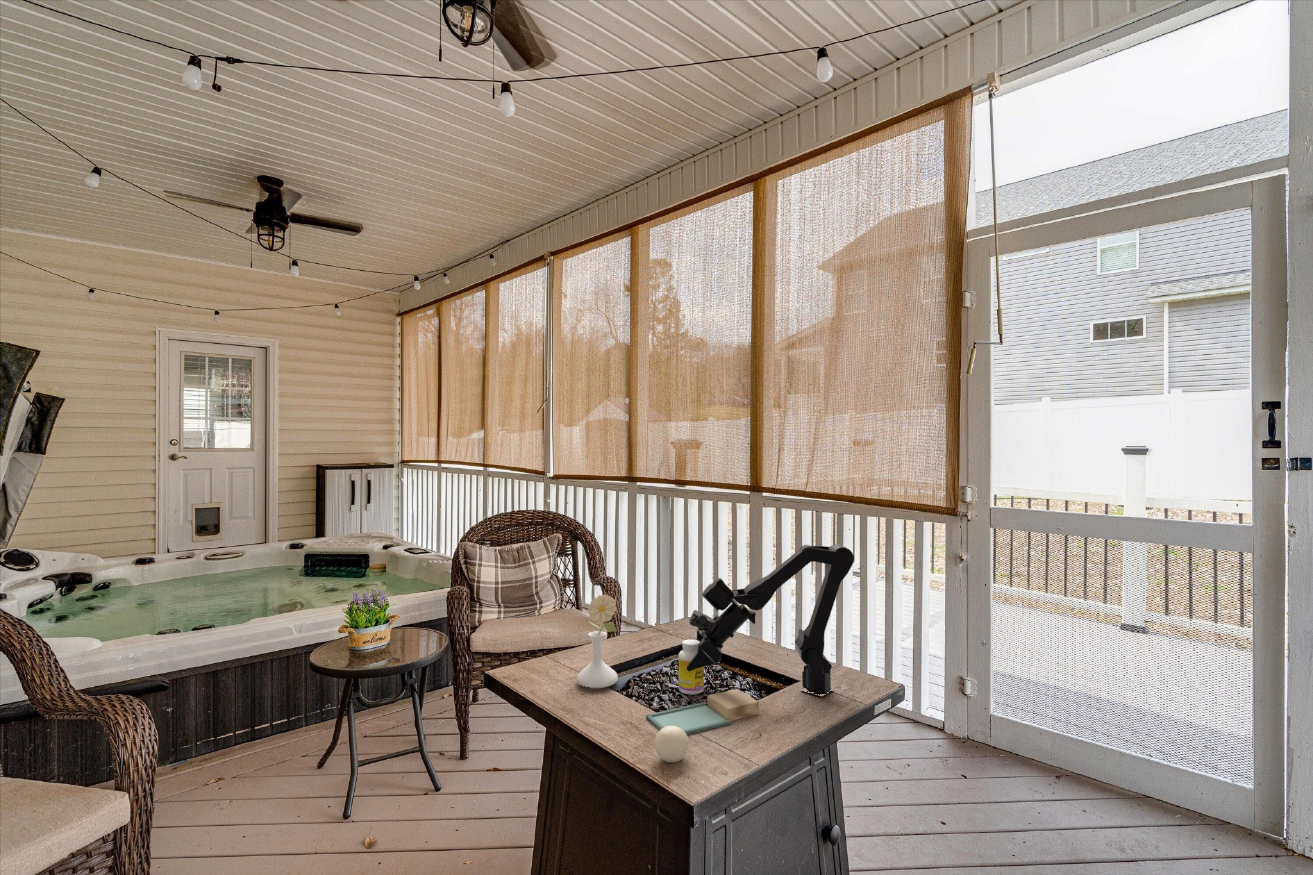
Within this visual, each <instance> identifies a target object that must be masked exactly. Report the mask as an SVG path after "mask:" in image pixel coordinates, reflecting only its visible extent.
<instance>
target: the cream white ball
mask: <svg viewBox="0 0 1313 875" xmlns="http://www.w3.org/2000/svg"><path fill="white" fill-rule="evenodd" d="M689 743H690V739H689V737H688V735H686V733H685V732H684V731H683V730H682V729H681V728H679V727H677V726H666V727H664V728H662V729H661V730H659V731H658V732H657V734H656V736H655V739H654V749H655V753H656V754H657V756H658V757H659V758H660V759H661V760H662V761H664V762H666V763H678V762H680V761H681V760H683V759H684V758H685V756H686V755H687V753H688V750H689Z"/></svg>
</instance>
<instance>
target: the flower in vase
mask: <svg viewBox="0 0 1313 875" xmlns="http://www.w3.org/2000/svg"><path fill="white" fill-rule="evenodd" d="M589 604H590V605H589V606H588V607H587V611H588V615H589V616H588V617H589V620H588V621H589V623H590V625H592V626H593V627H594V628H597V629H599V631H594V630H593V631H591V632H588V633H587V635H588V637H589V639H590V641H591V644H592V660H591V662H590V663H589V664H588V665H587V666H585V667H584V668H583V669H582V670H581V671H579V673H578V674H577V676H576V682H577V683H578V684H579V685H580V686H581V685H582V686H581V687H584V686H585V687H584V688H587V687H590V688H589V689H602V688H603V689H604V688H607V687H610V686H612V685H615V684H616V683H617V682H618V680H619V676H618V673H617V672H616V670H614V669H613V668H612V667H610V666H609V665H608V664H606V663H605V661H604V660H603V658H602V645H603V643H604V642H603V641H604V638H605V636H606V635H607V632H608V633H612V632H617V631H618V629H617V628H616V626H615V624H614V623H613V622H612V621H611V620H612V619H613V616H614V615H615V613H616V611H617V610H618V608H617V604H616V599H614V598H613V597H612V596H610V595H608V594H605V593H604V594H603V595H600V594H599V595H598V596H597V597H593V599H592V600H591V601H590V603H589ZM590 620H591V621H590ZM592 621H593V622H594V623H593V622H592ZM609 621H610V622H609ZM595 622H596V624H595ZM597 624H598V625H600V624H603V625H602V627H601V628H600V627H599V626H598V625H597ZM603 629H605V631H606V632H605V631H602V630H603Z"/></svg>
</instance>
